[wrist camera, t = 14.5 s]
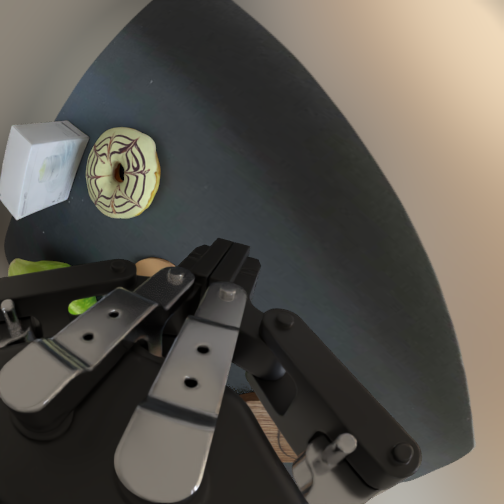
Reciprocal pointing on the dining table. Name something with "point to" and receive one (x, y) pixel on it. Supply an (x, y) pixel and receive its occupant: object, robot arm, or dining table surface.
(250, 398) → the trivet
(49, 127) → the cosmetics box
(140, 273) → the cork coaster
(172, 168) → the dining table surface
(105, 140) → the decorated donut
